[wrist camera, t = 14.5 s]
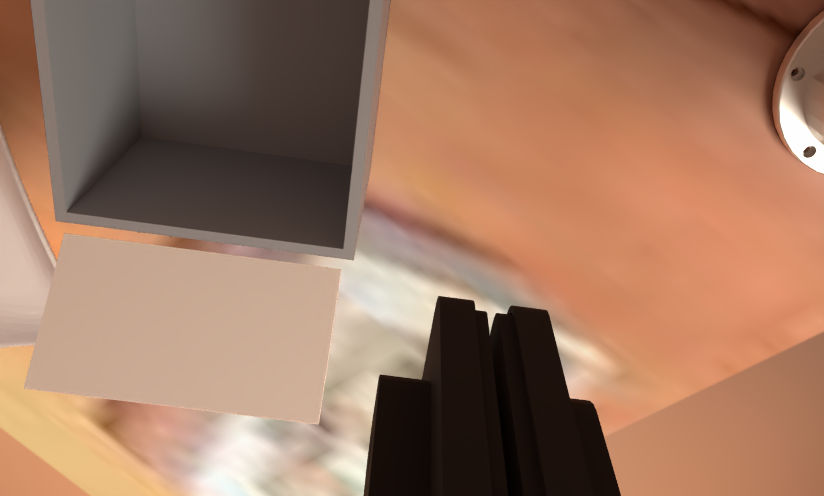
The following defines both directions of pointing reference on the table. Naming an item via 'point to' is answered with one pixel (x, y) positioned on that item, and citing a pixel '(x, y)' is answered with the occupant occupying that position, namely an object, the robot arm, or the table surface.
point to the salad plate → (21, 258)
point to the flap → (186, 329)
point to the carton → (213, 117)
